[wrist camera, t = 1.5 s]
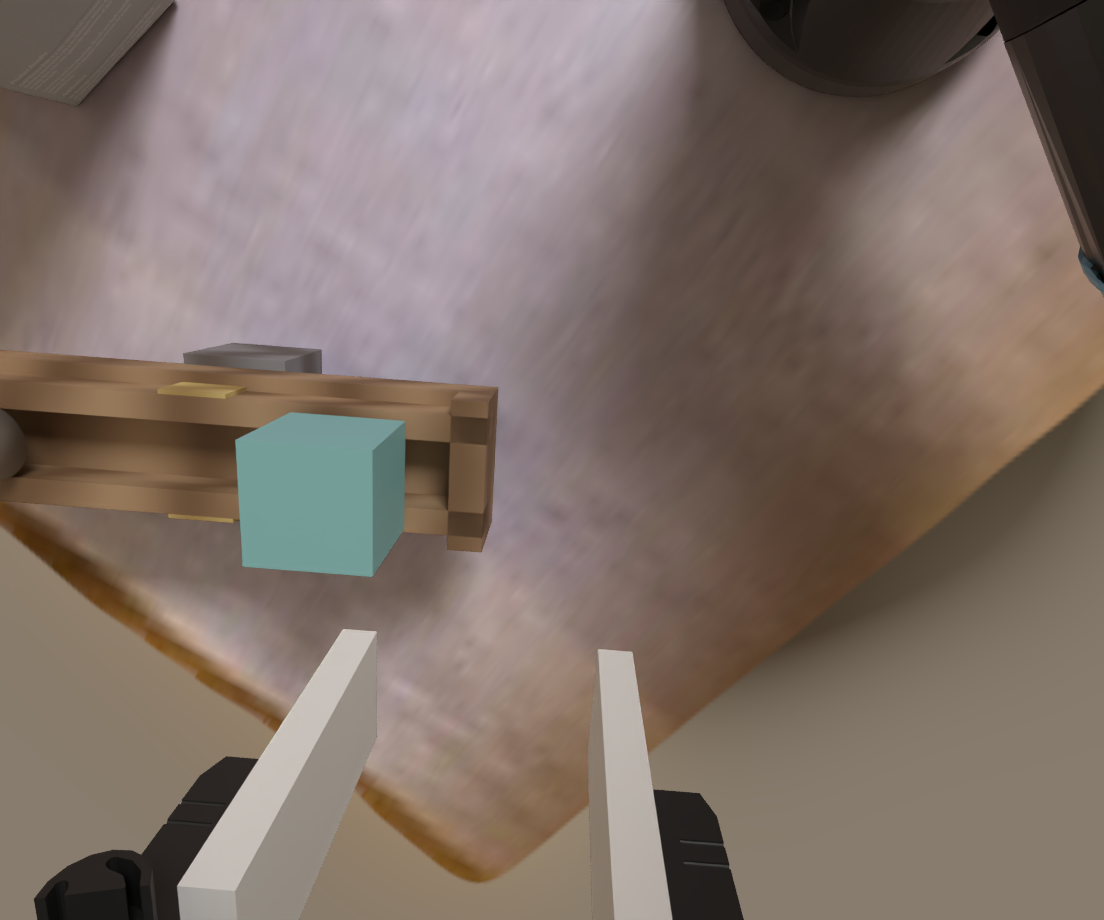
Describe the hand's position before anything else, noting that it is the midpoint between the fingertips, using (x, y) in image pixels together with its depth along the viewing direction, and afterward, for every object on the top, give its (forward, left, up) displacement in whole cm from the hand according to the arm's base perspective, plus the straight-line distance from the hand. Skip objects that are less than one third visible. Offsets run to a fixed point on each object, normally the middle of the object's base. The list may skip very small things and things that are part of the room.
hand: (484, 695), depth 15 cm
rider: (+8, 0, -17) cm, 19 cm away
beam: (+15, 0, -25) cm, 29 cm away
